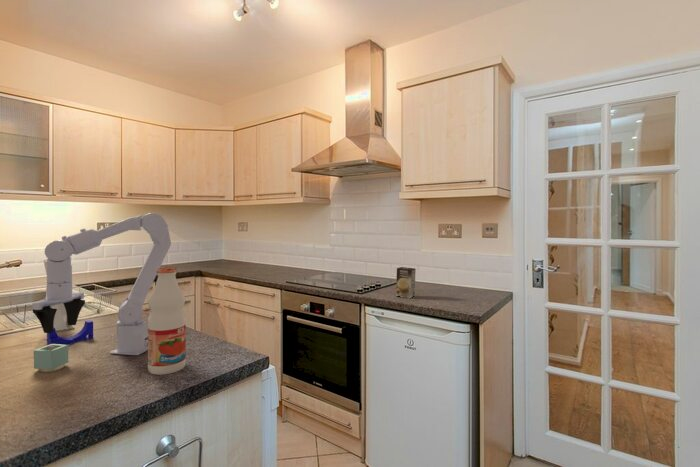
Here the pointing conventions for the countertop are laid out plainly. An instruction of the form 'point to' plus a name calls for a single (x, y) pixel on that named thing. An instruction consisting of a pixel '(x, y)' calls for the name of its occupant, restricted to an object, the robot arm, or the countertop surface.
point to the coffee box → (405, 282)
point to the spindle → (54, 368)
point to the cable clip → (82, 335)
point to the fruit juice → (166, 325)
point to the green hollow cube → (50, 357)
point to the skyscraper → (59, 314)
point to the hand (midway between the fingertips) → (60, 328)
